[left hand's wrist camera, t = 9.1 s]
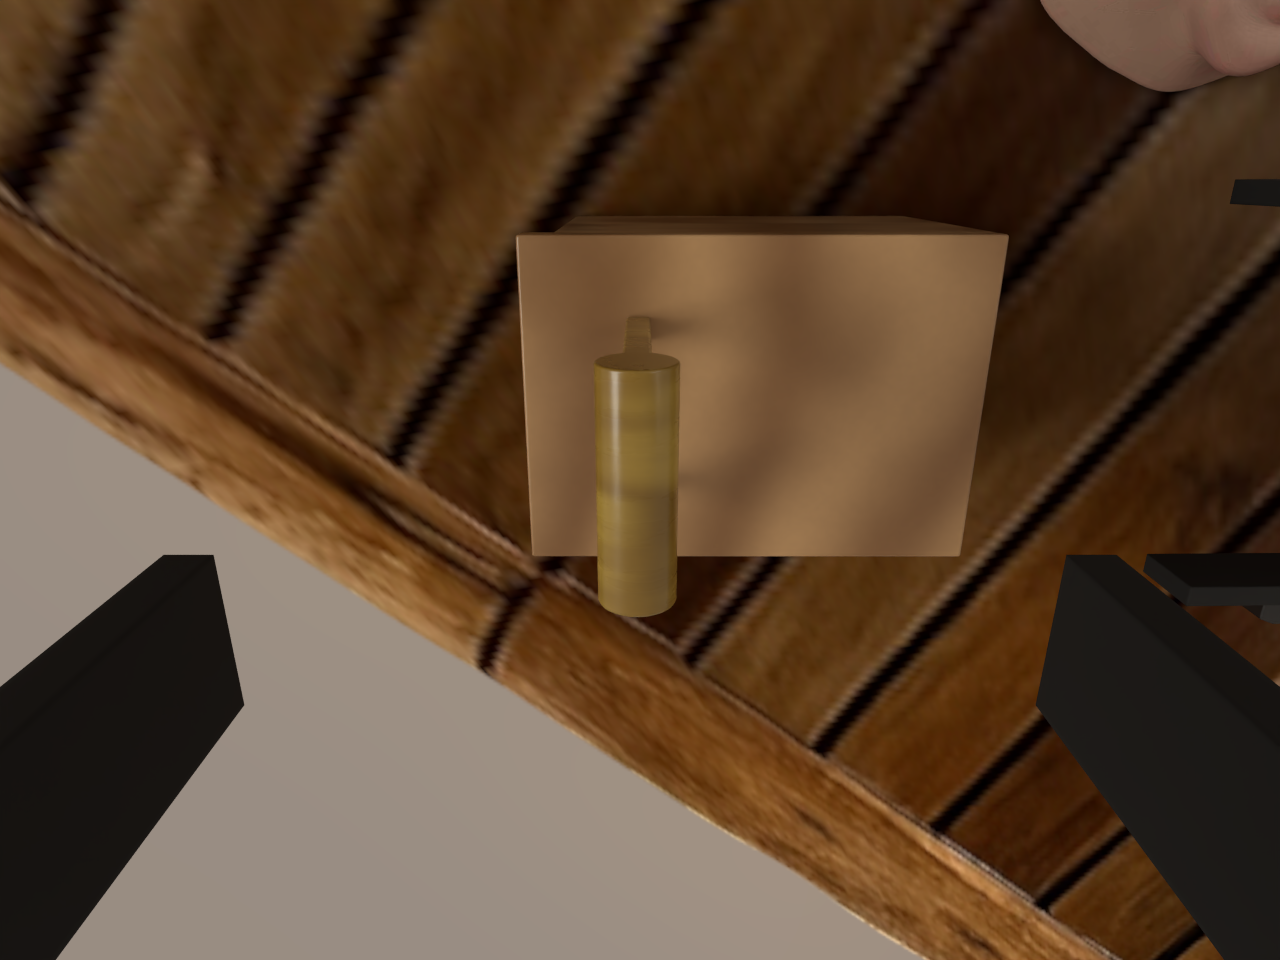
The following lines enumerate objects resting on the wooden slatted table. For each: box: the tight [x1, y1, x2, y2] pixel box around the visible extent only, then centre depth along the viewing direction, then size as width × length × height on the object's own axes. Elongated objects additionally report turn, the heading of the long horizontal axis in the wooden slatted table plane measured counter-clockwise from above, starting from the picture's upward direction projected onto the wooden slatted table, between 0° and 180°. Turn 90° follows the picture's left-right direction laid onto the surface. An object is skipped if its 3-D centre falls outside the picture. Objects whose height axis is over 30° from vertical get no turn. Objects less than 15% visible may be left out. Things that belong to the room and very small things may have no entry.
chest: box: [555, 216, 995, 233], centre depth 30 cm, size 13×10×9 cm
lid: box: [516, 233, 1009, 617], centre depth 22 cm, size 14×10×8 cm
